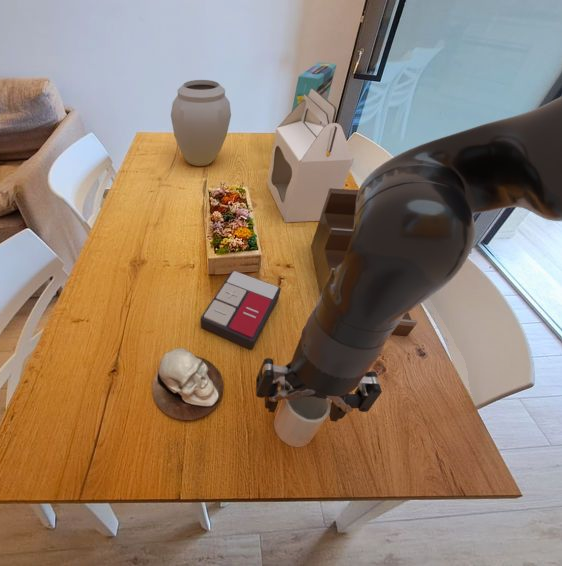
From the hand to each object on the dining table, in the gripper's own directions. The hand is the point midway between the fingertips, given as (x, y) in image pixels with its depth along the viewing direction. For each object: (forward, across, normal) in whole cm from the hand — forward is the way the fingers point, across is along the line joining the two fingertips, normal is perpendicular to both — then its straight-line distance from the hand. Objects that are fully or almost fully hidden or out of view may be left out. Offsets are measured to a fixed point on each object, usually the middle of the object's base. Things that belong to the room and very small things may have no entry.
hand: (301, 410), depth 48 cm
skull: (+6, -17, +4) cm, 19 cm away
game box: (+6, +10, +100) cm, 101 cm away
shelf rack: (+6, +16, +34) cm, 37 cm away
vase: (+6, -25, +91) cm, 94 cm away
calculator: (+6, -9, +22) cm, 24 cm away
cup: (+6, 0, 0) cm, 6 cm away
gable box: (+6, +6, +68) cm, 69 cm away
